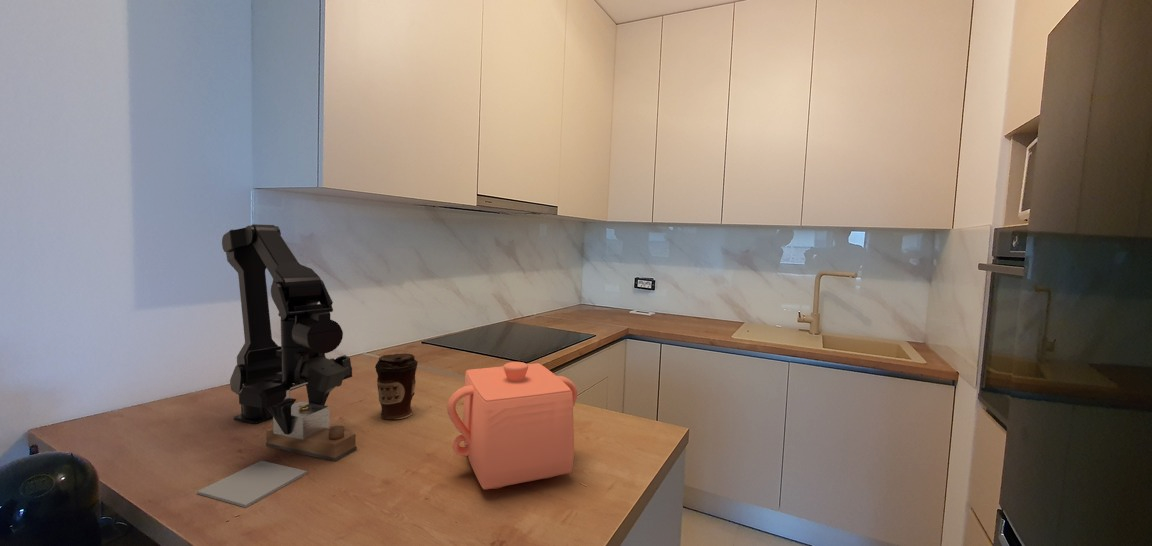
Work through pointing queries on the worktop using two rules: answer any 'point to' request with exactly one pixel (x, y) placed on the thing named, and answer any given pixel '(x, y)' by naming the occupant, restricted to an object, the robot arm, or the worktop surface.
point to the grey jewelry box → (306, 420)
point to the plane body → (316, 443)
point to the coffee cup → (396, 384)
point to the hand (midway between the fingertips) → (302, 427)
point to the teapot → (515, 423)
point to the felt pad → (252, 483)
